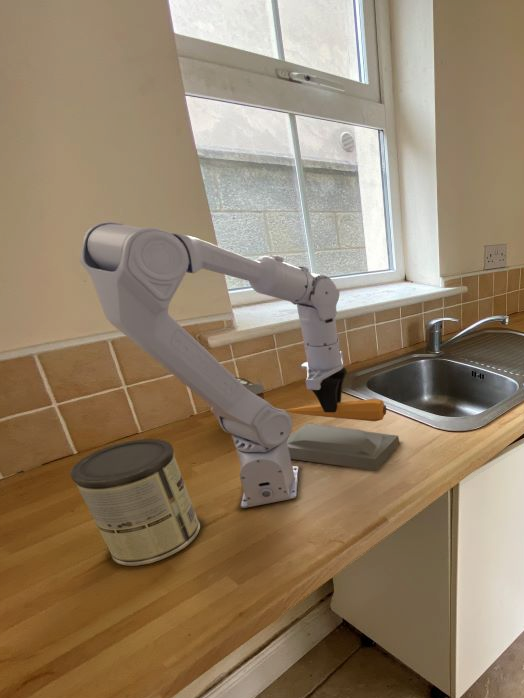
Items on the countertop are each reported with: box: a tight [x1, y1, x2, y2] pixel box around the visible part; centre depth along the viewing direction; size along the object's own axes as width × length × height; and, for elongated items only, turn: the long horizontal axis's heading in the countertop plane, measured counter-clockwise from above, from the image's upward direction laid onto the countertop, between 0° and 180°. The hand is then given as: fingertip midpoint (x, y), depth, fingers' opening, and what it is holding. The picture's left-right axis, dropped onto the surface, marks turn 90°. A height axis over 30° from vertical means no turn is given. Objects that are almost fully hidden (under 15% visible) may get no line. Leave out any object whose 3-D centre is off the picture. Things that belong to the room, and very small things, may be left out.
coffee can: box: [69, 438, 201, 567], centre depth 62 cm, size 10×10×14 cm
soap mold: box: [287, 423, 400, 471], centre depth 88 cm, size 10×20×4 cm, turn 82°
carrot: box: [284, 398, 387, 422], centre depth 86 cm, size 20×4×4 cm, turn 95°
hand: (332, 408), depth 86 cm, fingers closed on carrot, 2 cm apart
